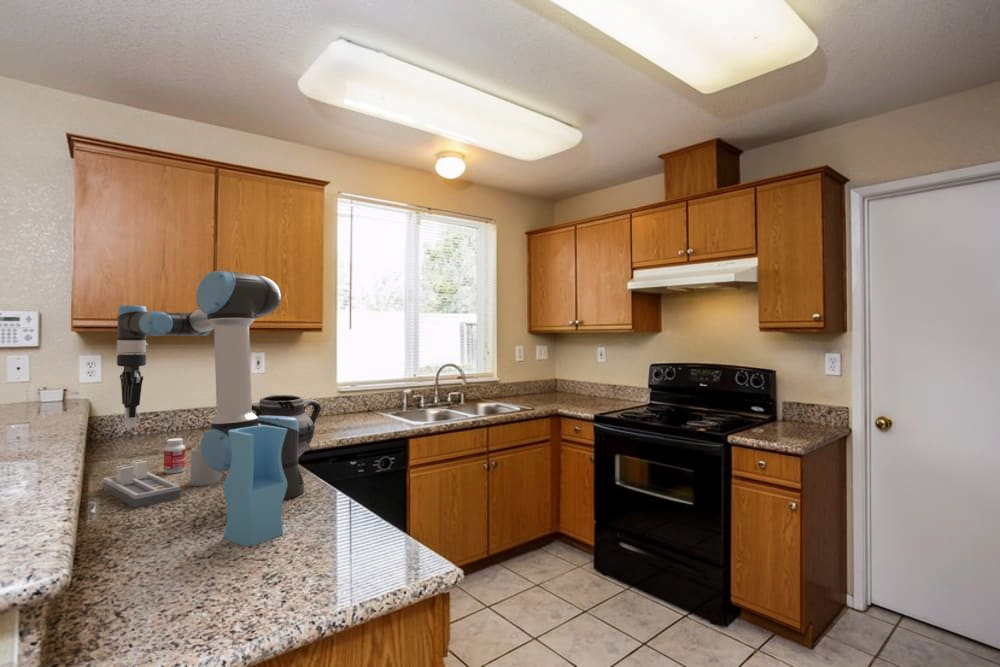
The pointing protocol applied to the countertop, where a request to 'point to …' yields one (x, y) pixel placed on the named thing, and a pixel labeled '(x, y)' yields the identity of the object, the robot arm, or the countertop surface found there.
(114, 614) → the countertop surface
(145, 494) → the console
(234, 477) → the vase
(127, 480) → the fader
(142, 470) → the fader
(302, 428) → the ceramic pot
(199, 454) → the mug
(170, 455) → the pill bottle
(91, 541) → the countertop surface
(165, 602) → the countertop surface
